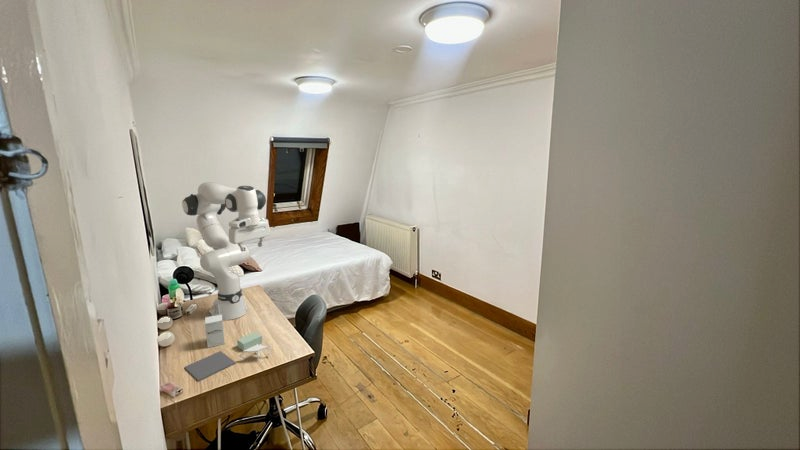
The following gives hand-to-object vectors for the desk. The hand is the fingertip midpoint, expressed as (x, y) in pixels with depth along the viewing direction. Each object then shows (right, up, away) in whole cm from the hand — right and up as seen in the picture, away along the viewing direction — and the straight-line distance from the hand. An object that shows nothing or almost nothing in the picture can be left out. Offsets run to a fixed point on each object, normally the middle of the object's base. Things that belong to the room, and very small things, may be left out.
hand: (252, 248), depth 163 cm
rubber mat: (-10, -49, -17) cm, 53 cm away
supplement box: (-18, -46, +1) cm, 49 cm away
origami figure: (+6, -48, -11) cm, 50 cm away
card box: (0, -46, -1) cm, 46 cm away
